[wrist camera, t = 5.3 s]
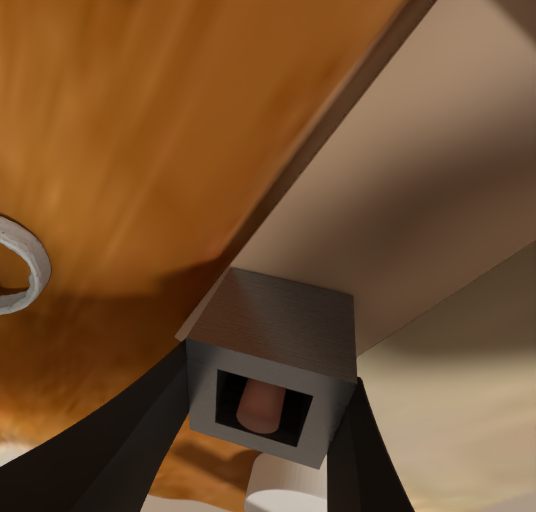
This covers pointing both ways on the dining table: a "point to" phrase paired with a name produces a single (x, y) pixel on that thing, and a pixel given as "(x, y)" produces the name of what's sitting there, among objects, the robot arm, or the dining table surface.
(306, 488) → the white round-based angled piece
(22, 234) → the ceramic mug
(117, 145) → the dining table surface
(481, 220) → the board
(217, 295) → the open square sleeve
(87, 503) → the robot arm
